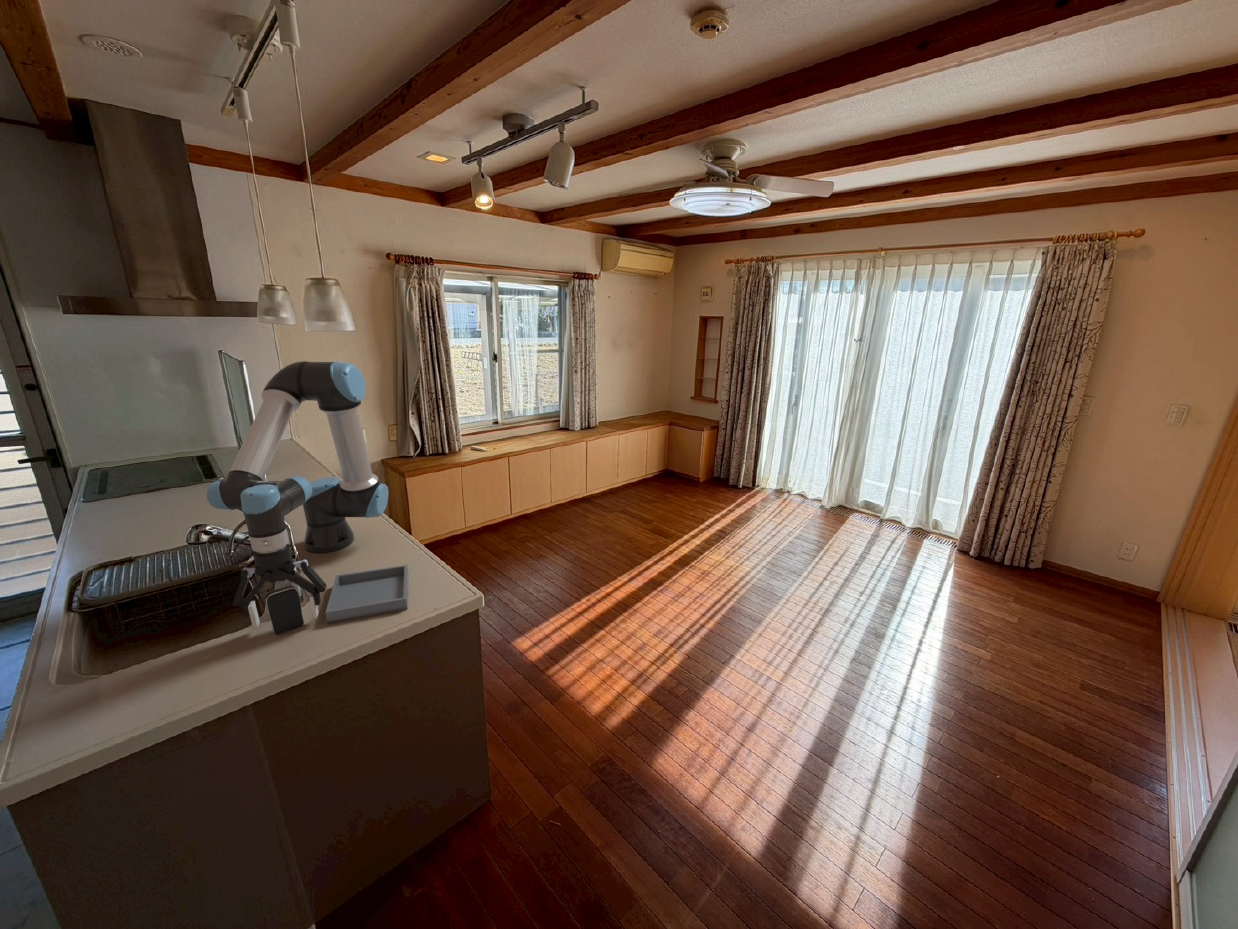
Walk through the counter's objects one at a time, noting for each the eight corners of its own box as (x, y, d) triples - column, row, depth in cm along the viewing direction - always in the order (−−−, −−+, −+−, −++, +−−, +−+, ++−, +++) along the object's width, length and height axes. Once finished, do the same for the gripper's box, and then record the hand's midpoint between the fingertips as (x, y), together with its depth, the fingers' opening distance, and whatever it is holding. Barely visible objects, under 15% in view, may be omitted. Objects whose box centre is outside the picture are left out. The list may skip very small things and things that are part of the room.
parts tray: (337, 585, 145) (336, 575, 144) (408, 574, 152) (407, 564, 151) (327, 624, 128) (325, 612, 127) (407, 609, 135) (406, 598, 134)
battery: (301, 618, 130) (294, 581, 126) (305, 625, 127) (298, 587, 124) (270, 629, 125) (262, 591, 122) (274, 636, 123) (265, 598, 119)
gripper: (203, 562, 111) (224, 639, 118) (325, 546, 120) (338, 619, 127) (215, 547, 118) (234, 621, 124) (330, 533, 127) (342, 603, 133)
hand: (286, 620), depth 126 cm, fingers open, 12 cm apart
